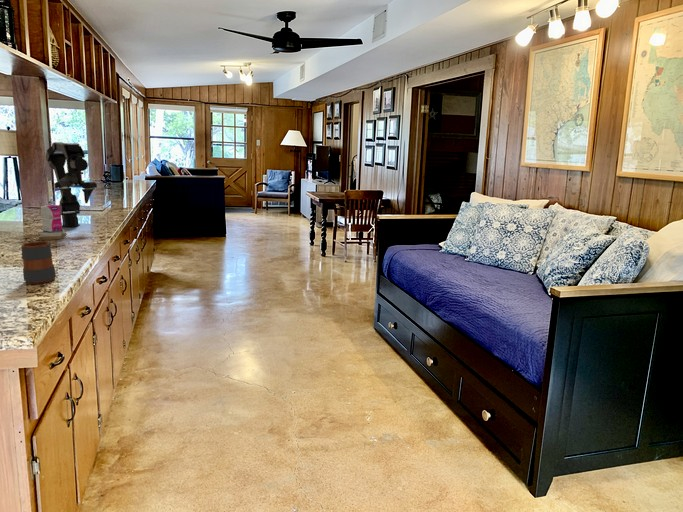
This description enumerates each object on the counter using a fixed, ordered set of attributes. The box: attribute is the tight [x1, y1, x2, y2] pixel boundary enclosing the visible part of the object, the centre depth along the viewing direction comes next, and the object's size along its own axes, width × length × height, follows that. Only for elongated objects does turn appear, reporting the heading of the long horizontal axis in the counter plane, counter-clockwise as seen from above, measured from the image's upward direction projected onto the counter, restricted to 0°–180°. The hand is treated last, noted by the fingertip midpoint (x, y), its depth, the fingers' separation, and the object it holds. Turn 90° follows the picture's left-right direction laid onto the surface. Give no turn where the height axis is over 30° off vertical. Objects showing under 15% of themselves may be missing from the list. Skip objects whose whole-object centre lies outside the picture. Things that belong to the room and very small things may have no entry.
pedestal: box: [38, 229, 68, 241], centre depth 231 cm, size 9×9×3 cm
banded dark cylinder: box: [20, 241, 57, 285], centre depth 162 cm, size 9×12×12 cm
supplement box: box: [40, 204, 63, 233], centre depth 230 cm, size 6×6×12 cm
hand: (77, 203), depth 251 cm, fingers open, 9 cm apart
